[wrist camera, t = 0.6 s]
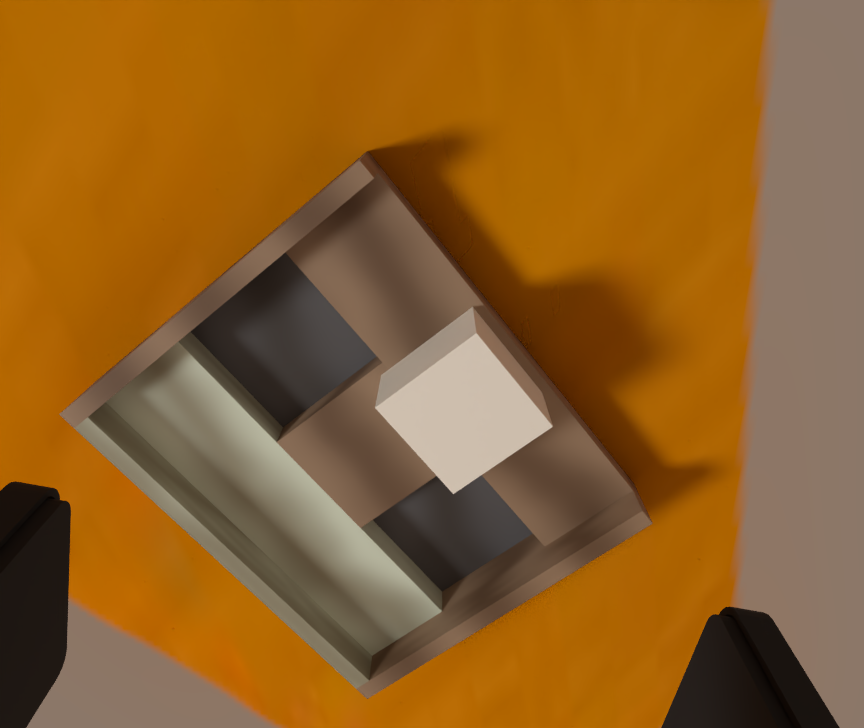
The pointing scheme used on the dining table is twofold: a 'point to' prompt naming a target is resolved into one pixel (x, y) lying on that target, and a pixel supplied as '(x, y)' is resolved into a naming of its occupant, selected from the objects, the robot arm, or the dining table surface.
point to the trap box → (348, 442)
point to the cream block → (462, 402)
